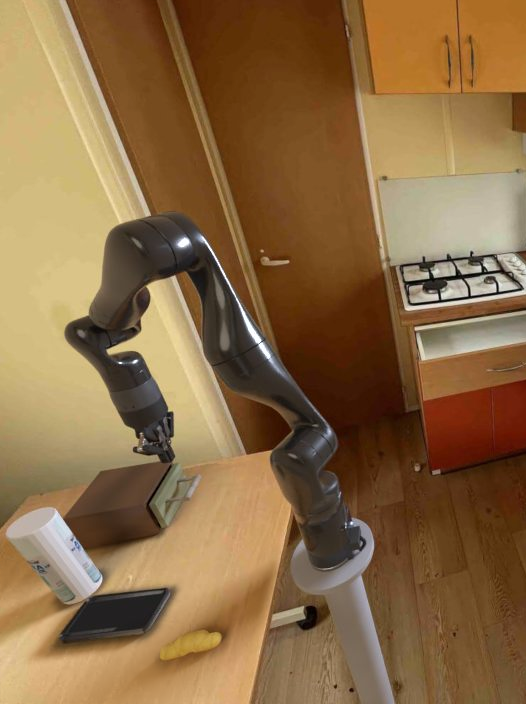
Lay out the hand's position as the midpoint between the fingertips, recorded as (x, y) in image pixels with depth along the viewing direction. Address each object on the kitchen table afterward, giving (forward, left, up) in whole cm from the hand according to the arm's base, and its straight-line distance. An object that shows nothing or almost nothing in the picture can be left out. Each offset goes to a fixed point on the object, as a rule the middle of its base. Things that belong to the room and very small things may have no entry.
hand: (169, 460), depth 96 cm
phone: (+3, +25, -15) cm, 29 cm away
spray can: (+13, +17, -15) cm, 26 cm away
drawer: (+7, 0, -14) cm, 15 cm away
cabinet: (+11, 0, -15) cm, 19 cm away
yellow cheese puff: (-13, +34, -15) cm, 39 cm away
